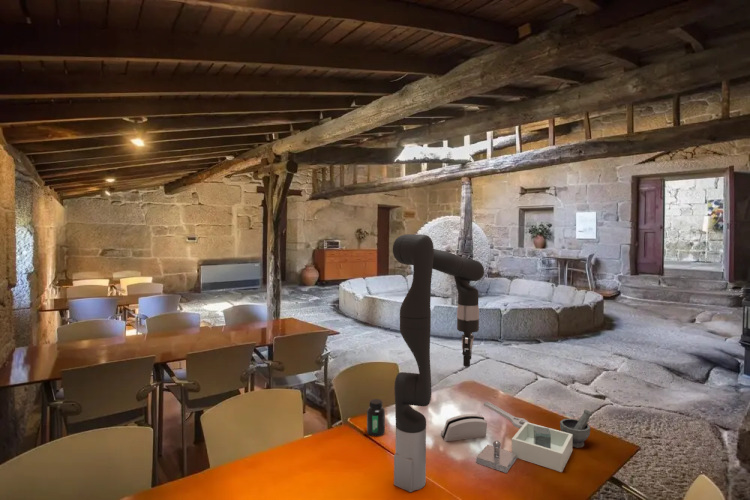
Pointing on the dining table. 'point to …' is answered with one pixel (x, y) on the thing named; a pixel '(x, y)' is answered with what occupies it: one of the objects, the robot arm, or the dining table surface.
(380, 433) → the supplement bottle
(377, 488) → the dining table surface
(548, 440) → the grey rectangular block
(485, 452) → the stud plate
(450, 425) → the napkin holder
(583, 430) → the mortar and pestle
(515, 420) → the adjustable wrench
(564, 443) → the bin
